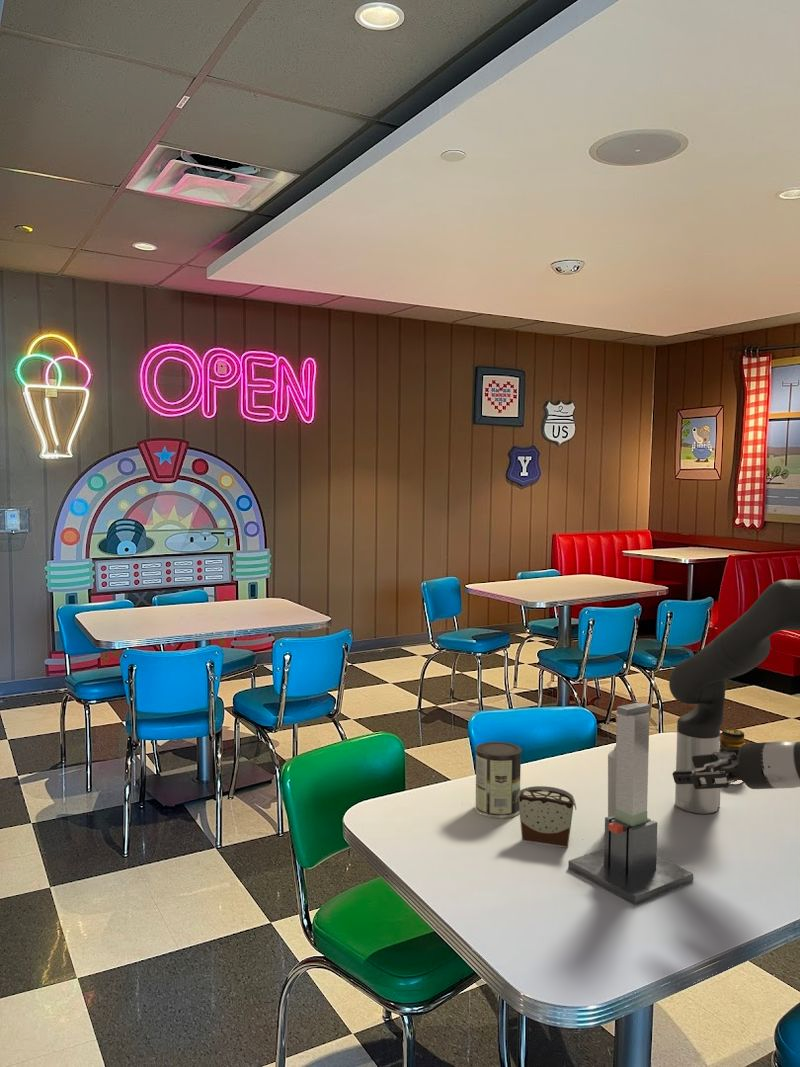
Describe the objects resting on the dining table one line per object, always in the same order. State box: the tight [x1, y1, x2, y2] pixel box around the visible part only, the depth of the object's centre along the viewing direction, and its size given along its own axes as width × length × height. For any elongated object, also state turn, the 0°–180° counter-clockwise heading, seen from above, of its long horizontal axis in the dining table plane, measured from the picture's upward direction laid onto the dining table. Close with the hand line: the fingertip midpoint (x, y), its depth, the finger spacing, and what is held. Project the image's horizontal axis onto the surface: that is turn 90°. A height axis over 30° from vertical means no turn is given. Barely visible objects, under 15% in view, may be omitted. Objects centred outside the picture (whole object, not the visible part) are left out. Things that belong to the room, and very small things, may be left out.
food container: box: [516, 785, 577, 848], centre depth 164 cm, size 12×6×10 cm, turn 71°
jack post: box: [615, 701, 651, 828], centre depth 148 cm, size 6×4×23 cm, turn 123°
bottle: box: [607, 714, 618, 817], centre depth 167 cm, size 5×5×25 cm
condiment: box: [720, 728, 746, 780], centre depth 200 cm, size 7×8×12 cm
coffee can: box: [475, 741, 522, 819], centre depth 179 cm, size 10×10×14 cm
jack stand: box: [567, 815, 694, 906], centre depth 149 cm, size 16×16×10 cm
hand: (684, 769), depth 144 cm, fingers open, 8 cm apart
